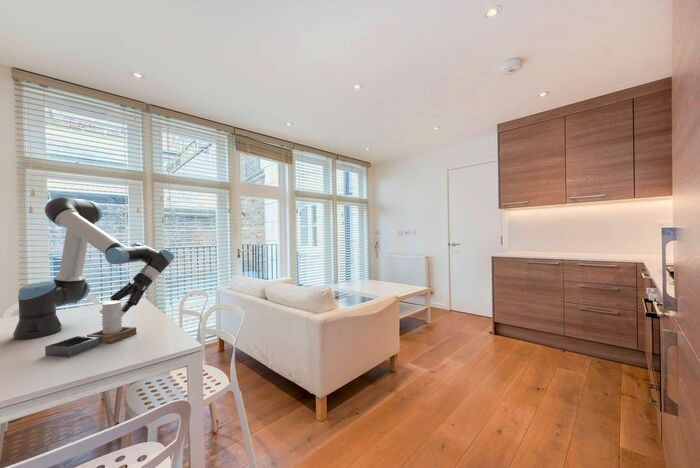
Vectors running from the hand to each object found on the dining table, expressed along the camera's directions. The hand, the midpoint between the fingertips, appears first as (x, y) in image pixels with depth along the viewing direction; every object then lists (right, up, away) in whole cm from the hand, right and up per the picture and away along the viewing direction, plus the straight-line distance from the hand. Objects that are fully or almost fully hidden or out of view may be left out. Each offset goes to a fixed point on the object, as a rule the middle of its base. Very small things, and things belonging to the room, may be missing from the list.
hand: (108, 315), depth 125 cm
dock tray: (+1, -10, +1) cm, 10 cm away
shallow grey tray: (-4, -10, -12) cm, 16 cm away
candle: (0, -10, +1) cm, 10 cm away
